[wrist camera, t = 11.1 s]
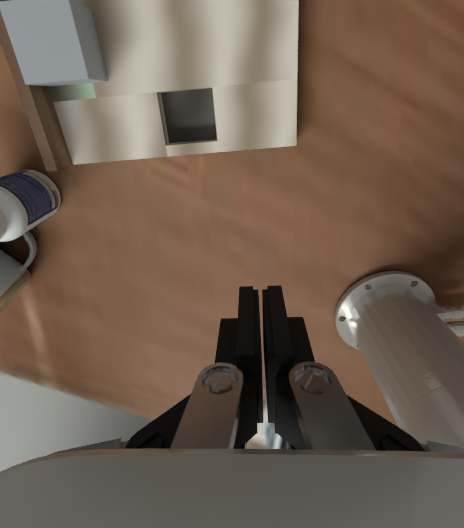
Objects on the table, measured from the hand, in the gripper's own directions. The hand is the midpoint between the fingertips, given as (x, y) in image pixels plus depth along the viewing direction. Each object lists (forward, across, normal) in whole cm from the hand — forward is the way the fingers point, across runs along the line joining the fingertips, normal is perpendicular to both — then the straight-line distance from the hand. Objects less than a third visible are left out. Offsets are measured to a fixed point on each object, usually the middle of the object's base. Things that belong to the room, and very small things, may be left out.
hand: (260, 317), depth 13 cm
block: (+20, +15, -13) cm, 29 cm away
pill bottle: (+23, +24, -1) cm, 33 cm away
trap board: (+22, +8, -13) cm, 27 cm away
